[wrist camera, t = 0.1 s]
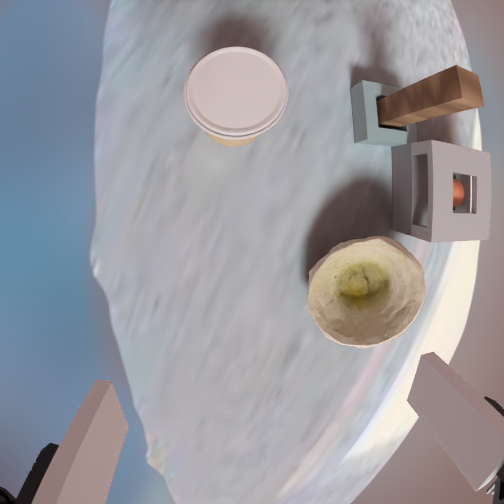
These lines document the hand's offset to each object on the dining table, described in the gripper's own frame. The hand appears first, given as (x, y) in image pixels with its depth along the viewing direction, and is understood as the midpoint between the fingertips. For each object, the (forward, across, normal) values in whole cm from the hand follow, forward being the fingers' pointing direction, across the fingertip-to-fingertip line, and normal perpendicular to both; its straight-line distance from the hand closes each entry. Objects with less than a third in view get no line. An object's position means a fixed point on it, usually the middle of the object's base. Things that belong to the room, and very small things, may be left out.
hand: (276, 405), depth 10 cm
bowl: (+28, +15, -5) cm, 32 cm away
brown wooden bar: (+27, +19, +18) cm, 38 cm away
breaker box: (+28, +28, +8) cm, 40 cm away
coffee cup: (+28, -1, +17) cm, 33 cm away
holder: (+28, +19, +18) cm, 39 cm away
